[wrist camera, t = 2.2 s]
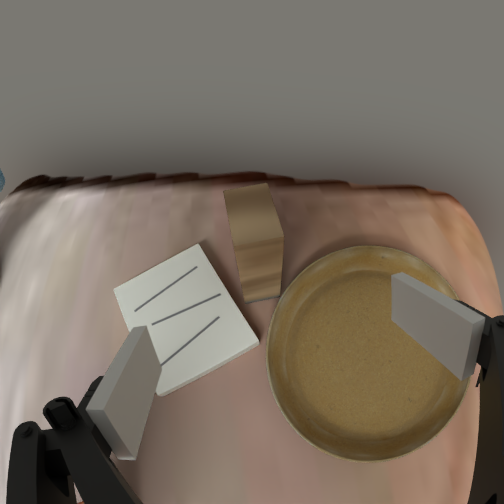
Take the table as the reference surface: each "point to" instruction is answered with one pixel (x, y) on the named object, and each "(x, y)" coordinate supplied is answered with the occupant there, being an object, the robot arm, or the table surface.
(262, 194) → the block
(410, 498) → the table surface
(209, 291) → the board
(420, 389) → the plant saucer
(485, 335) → the robot arm
